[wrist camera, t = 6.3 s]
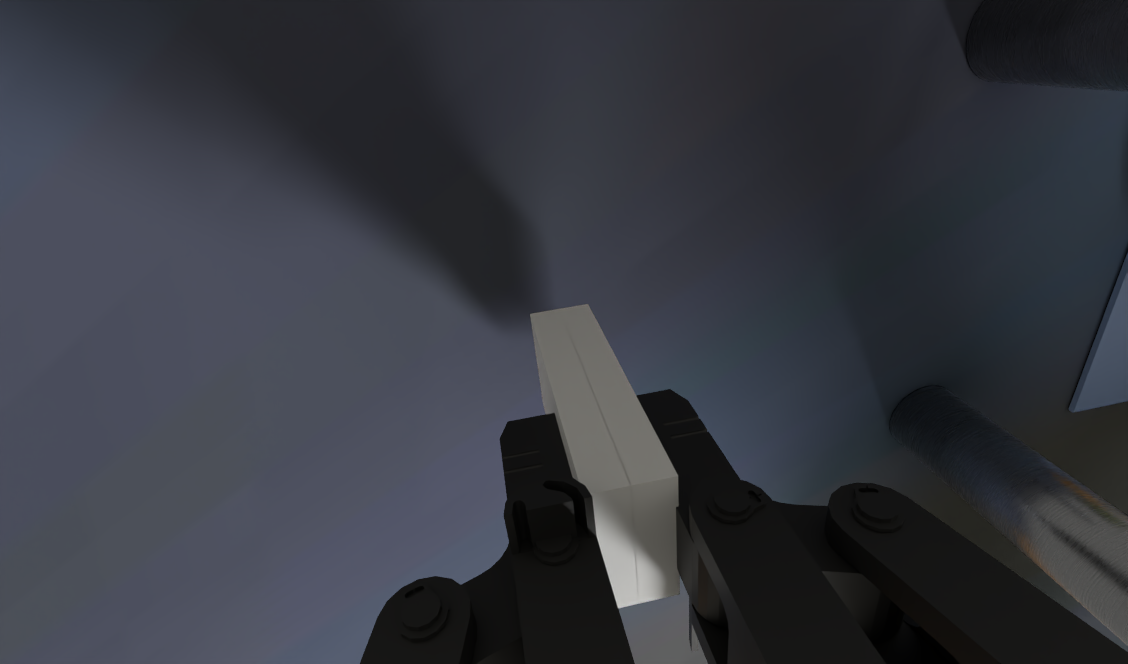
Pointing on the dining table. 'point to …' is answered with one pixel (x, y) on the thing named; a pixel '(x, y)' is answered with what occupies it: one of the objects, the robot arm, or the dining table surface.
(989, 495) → the inner post
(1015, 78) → the outer post
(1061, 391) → the dining table surface
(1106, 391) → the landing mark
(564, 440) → the robot arm
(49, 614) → the dining table surface
